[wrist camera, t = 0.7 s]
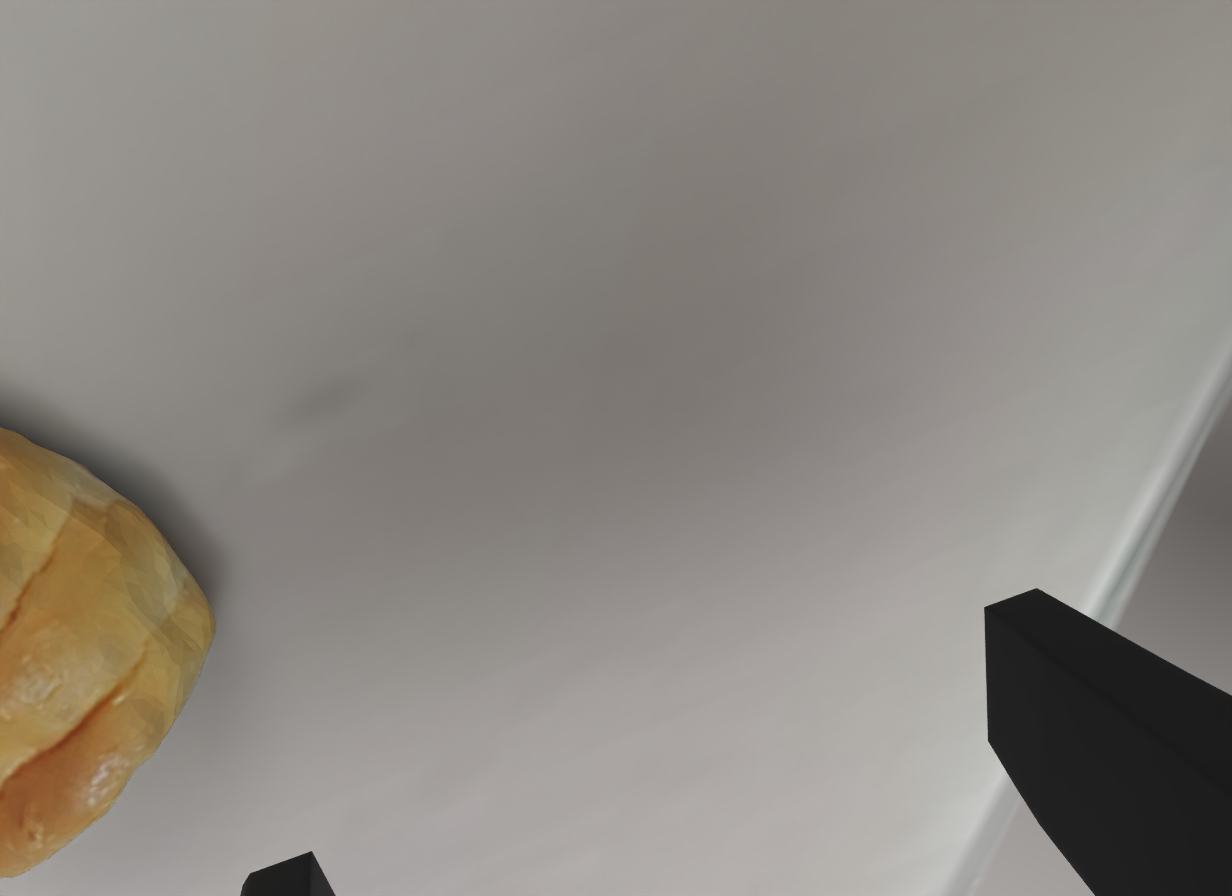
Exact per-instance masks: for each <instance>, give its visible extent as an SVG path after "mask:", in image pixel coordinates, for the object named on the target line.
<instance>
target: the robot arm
mask: <svg viewBox="0 0 1232 896" xmlns="http://www.w3.org/2000/svg"><path fill="white" fill-rule="evenodd" d="M984 613H985V648H986V683H987V718H988V741H989V743H990V745H991V746H992V748H993V750H994V751H995V753H996V755H997V756H998V758H999V760H1000V761H1001V763H1002V765H1003V766H1004V768H1005V770H1006V771H1007V773H1008V775H1009V776H1010V778H1011V780H1012V781H1013V783H1014V785H1015V787H1016V788H1017V790H1018V791H1019V793H1020V794H1021V796H1022V798H1023V799H1024V801H1025V802H1026V804H1027V805H1028V807H1029V809H1030V810H1031V812H1032V813H1033V815H1034V816H1035V818H1036V820H1037V821H1038V823H1039V824H1040V826H1041V827H1042V828H1043V829H1044V831H1045V832H1046V834H1047V835H1048V836H1049V837H1050V839H1051V840H1052V841H1053V843H1054V844H1055V845H1056V846H1057V848H1058V849H1059V850H1060V852H1061V853H1062V854H1063V855H1064V857H1065V858H1066V859H1067V860H1068V862H1069V863H1070V864H1071V865H1072V867H1073V868H1074V869H1075V871H1076V872H1077V873H1078V874H1079V876H1080V877H1081V878H1082V879H1083V881H1084V882H1085V883H1086V885H1087V886H1088V887H1089V888H1090V890H1091V891H1092V892H1093V893H1094V895H1095V896H1232V696H1231V695H1230V694H1228V693H1226V692H1224V691H1222V690H1220V689H1218V688H1216V687H1214V686H1212V685H1210V684H1209V683H1206V682H1205V681H1203V680H1201V679H1199V678H1197V677H1195V676H1193V675H1191V674H1190V673H1188V672H1186V671H1184V670H1182V669H1180V668H1178V667H1177V666H1175V665H1173V664H1171V663H1169V662H1167V661H1166V660H1164V659H1162V658H1160V657H1159V656H1157V655H1155V654H1153V653H1151V652H1150V651H1148V650H1146V649H1144V648H1142V647H1141V646H1139V645H1137V644H1135V643H1133V642H1132V641H1130V640H1128V639H1126V638H1125V637H1123V636H1121V635H1119V634H1117V633H1116V632H1114V631H1112V630H1110V629H1109V628H1107V627H1105V626H1103V625H1102V624H1100V623H1098V622H1096V621H1095V620H1093V619H1091V618H1089V617H1087V616H1086V615H1084V614H1082V613H1080V612H1079V611H1077V610H1075V609H1073V608H1071V607H1070V606H1068V605H1066V604H1064V603H1063V602H1061V601H1059V600H1057V599H1055V598H1054V597H1052V596H1050V595H1048V594H1046V593H1045V592H1043V591H1041V590H1039V589H1037V588H1036V589H1033V590H1030V591H1027V592H1025V593H1022V594H1019V595H1016V596H1014V597H1011V598H1008V599H1005V600H1003V601H1000V602H997V603H994V604H992V605H989V606H986V607H984ZM240 896H335V894H334V892H333V890H332V888H331V886H330V885H329V883H328V881H327V879H326V877H325V875H324V873H323V871H322V869H321V868H320V866H319V864H318V862H317V860H316V858H315V856H314V854H313V852H312V851H311V852H308V853H305V854H302V855H300V856H297V857H294V858H291V859H289V860H286V861H283V862H280V863H278V864H275V865H272V866H269V867H267V868H264V869H261V870H258V871H256V872H253V873H250V875H249V876H248V878H247V879H246V881H245V883H244V884H243V887H242V891H241V895H240Z"/></svg>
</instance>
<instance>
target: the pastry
mask: <svg viewBox="0 0 1232 896" xmlns="http://www.w3.org/2000/svg"><path fill="white" fill-rule="evenodd" d="M215 627H216V623H215V619H214V616H213V613H212V610H211V608H210V605H209V603H208V601H207V599H206V597H205V595H204V594H203V592H202V590H201V588H200V587H199V585H198V584H197V582H196V581H195V579H194V578H193V576H192V575H191V574H190V572H189V571H188V570H187V568H186V567H185V566H184V564H183V563H182V562H181V560H180V559H179V558H178V556H177V555H176V553H175V552H174V551H173V549H172V548H171V546H170V545H169V543H168V542H167V541H166V539H165V538H164V537H163V535H162V534H161V533H160V531H159V530H158V529H157V527H156V526H155V525H154V524H153V523H152V522H151V520H150V519H149V518H148V517H147V516H146V515H145V514H144V513H143V511H142V510H141V508H139V507H137V506H136V505H135V504H134V503H132V502H131V501H130V500H128V499H126V498H125V497H123V496H122V495H120V494H119V493H117V492H116V491H115V490H113V489H112V488H111V487H109V486H108V485H106V484H105V483H104V482H102V481H101V480H100V479H98V478H97V477H96V476H94V475H93V474H92V473H91V472H90V471H89V470H88V469H87V468H86V467H85V466H83V465H82V464H79V463H77V462H75V461H73V460H71V459H69V458H66V457H64V456H62V455H59V454H57V453H54V452H52V451H50V450H47V449H45V448H43V447H40V446H38V445H35V444H33V443H32V442H30V441H29V440H28V439H26V438H25V437H23V436H22V435H20V434H18V433H16V432H14V431H11V430H7V429H3V428H1V427H0V878H3V877H9V878H12V877H15V876H17V875H19V874H22V873H24V872H26V871H28V870H30V869H31V868H32V867H33V866H35V865H37V864H38V863H40V862H42V861H44V860H46V859H48V858H50V857H51V856H52V855H53V854H54V853H56V852H57V851H58V850H60V849H61V848H63V847H64V846H66V845H67V844H68V843H70V842H71V841H72V840H73V839H74V838H76V837H77V836H78V835H79V834H80V833H81V832H83V831H84V830H85V829H86V828H88V827H89V826H91V825H92V824H93V823H94V822H96V821H97V820H98V819H99V818H101V817H102V816H103V815H105V814H106V813H107V812H108V810H109V809H110V808H111V807H112V805H113V804H114V803H115V801H116V800H117V798H118V797H119V795H120V794H121V792H122V790H123V789H124V787H125V785H126V783H127V782H128V780H129V779H130V777H131V776H132V775H133V773H134V772H135V770H136V769H137V768H138V767H139V766H140V765H141V764H142V763H144V762H145V761H146V760H147V759H149V758H150V757H151V756H152V755H153V754H154V753H155V751H156V750H157V748H158V747H159V745H160V744H161V742H162V741H163V739H164V738H165V736H166V734H167V733H168V731H169V730H170V728H171V726H172V725H173V723H174V722H175V720H176V718H177V716H178V715H179V713H180V711H181V709H182V708H183V706H184V704H185V703H186V701H187V699H188V697H189V695H190V693H191V691H192V690H193V688H194V686H195V684H196V682H197V679H198V677H199V674H200V671H201V669H202V666H203V663H204V661H205V658H206V655H207V652H208V650H209V647H210V644H211V642H212V639H213V637H214V634H215Z"/></svg>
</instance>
